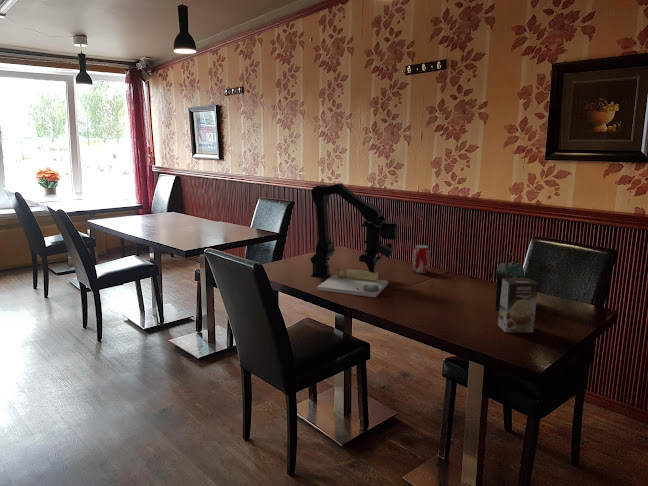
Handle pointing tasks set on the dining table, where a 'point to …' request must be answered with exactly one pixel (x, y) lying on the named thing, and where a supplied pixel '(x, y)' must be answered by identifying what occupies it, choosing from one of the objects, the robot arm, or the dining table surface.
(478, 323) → the dining table surface
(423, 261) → the soda can
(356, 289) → the base
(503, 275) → the ceramic cat
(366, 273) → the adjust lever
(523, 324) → the coffee box
